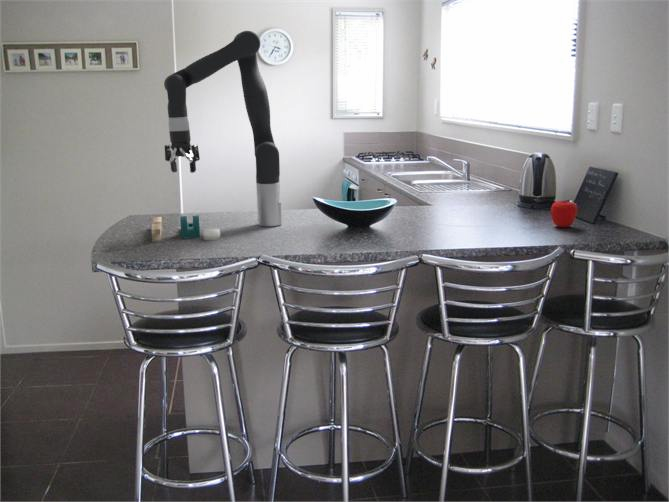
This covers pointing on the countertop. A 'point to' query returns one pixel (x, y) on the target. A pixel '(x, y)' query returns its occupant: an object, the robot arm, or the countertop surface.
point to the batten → (157, 229)
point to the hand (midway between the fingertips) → (183, 172)
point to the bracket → (190, 227)
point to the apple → (563, 213)
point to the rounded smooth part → (211, 233)
